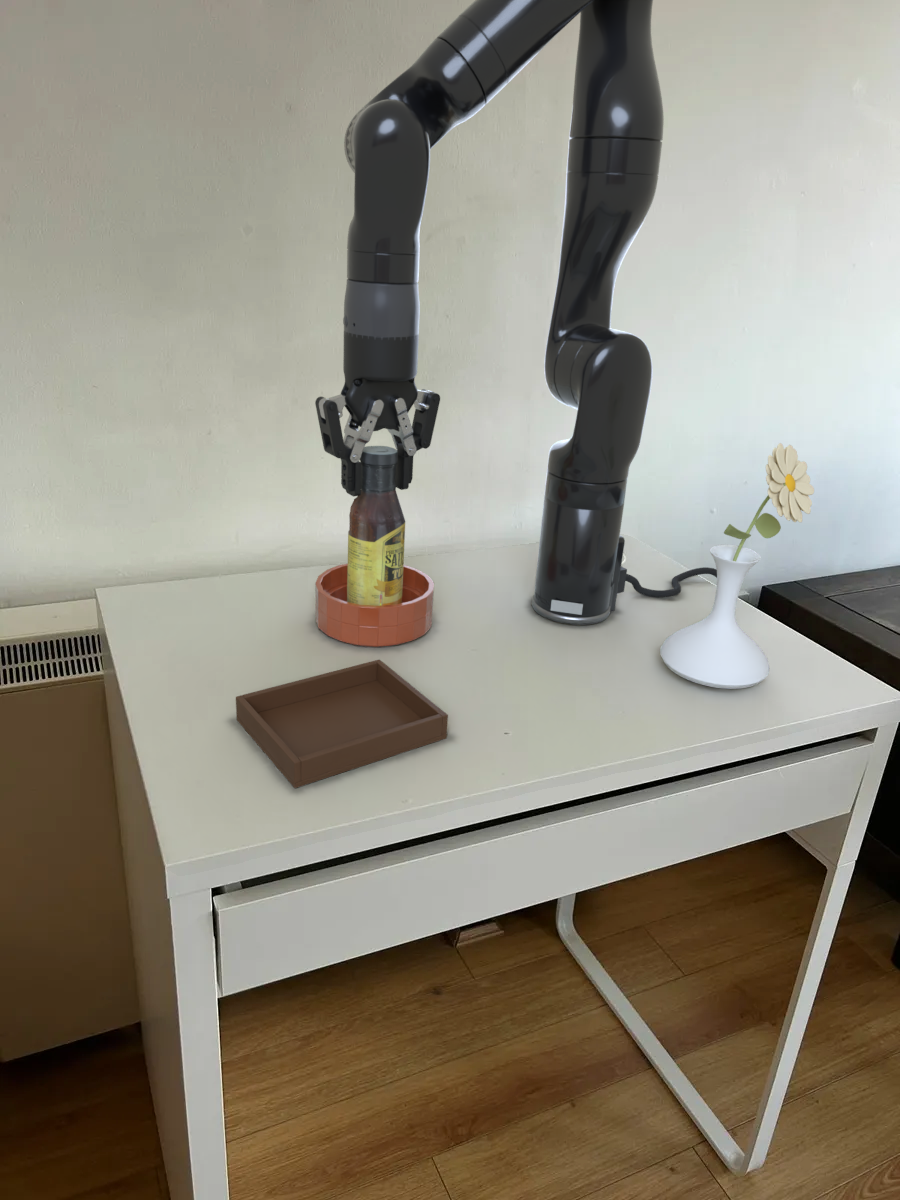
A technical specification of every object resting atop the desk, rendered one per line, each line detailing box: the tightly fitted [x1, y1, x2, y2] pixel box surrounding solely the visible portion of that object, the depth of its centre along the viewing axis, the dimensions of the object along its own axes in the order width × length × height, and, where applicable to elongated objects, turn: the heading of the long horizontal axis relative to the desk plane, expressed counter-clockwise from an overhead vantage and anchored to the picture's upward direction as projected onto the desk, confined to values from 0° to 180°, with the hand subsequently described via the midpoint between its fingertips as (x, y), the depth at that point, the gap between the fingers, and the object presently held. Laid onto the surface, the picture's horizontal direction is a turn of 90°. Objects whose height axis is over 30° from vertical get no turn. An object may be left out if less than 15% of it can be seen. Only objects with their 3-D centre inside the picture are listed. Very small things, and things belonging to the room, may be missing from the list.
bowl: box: [314, 562, 435, 648], centre depth 102 cm, size 13×13×5 cm
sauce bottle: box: [347, 445, 406, 606], centre depth 99 cm, size 7×6×20 cm
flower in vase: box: [659, 442, 815, 690], centre depth 92 cm, size 13×11×25 cm
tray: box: [235, 659, 449, 789], centre depth 82 cm, size 15×12×2 cm
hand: (377, 490), depth 97 cm, fingers open, 5 cm apart
